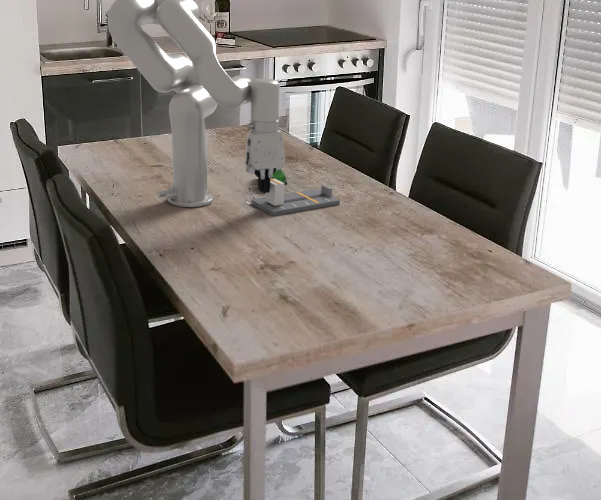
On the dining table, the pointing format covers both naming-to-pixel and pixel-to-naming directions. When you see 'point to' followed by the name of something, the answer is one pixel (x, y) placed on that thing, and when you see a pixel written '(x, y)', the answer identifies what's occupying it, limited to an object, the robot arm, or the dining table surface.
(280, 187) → the fader tab
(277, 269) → the dining table surface
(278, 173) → the snack package
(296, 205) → the console
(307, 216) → the dining table surface
